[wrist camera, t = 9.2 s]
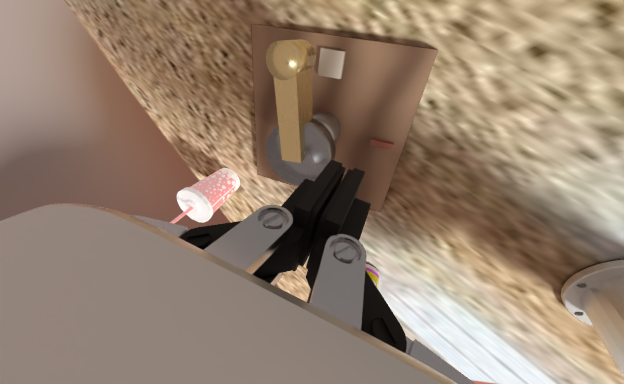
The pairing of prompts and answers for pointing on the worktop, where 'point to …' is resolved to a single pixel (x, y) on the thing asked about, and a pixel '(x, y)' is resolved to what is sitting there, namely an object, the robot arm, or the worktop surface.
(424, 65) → the post base
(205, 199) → the beverage cup
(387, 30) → the worktop surface
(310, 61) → the brass lever handle
